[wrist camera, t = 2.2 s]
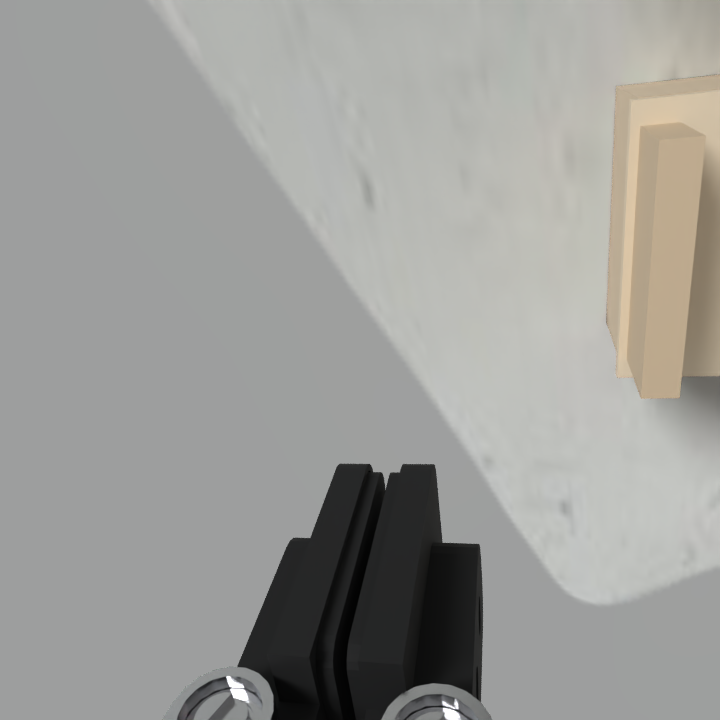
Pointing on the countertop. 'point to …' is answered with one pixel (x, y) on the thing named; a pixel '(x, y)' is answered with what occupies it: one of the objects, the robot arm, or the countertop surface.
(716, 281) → the lid
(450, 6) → the countertop surface
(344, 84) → the countertop surface
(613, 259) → the mailer box
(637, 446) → the countertop surface
